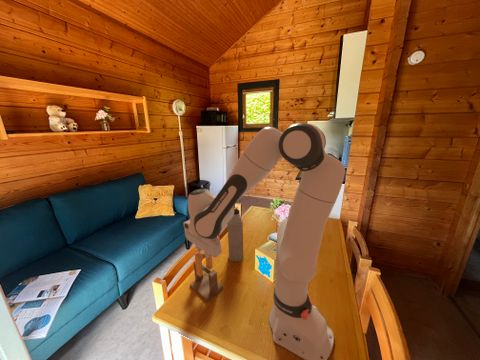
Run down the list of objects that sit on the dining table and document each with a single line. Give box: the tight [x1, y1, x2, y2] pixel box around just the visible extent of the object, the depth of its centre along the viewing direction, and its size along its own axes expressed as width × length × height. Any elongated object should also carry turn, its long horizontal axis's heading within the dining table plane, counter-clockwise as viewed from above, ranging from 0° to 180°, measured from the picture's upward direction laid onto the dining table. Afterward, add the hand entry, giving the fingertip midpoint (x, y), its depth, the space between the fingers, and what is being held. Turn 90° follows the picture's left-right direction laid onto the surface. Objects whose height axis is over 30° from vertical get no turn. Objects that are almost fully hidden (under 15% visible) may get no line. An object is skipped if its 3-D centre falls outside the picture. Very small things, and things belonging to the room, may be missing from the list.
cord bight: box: [194, 250, 213, 276], centre depth 87 cm, size 2×7×10 cm, turn 138°
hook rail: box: [189, 261, 224, 302], centre depth 89 cm, size 12×9×11 cm
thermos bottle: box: [227, 208, 244, 262], centre depth 106 cm, size 8×8×28 cm
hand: (203, 255), depth 86 cm, fingers closed on cord bight, 2 cm apart
